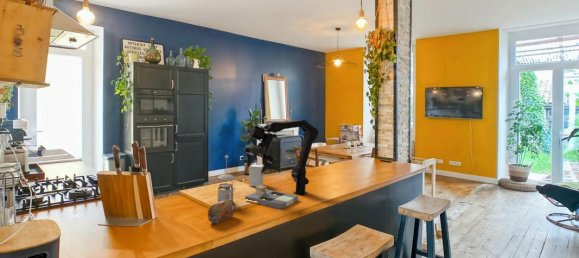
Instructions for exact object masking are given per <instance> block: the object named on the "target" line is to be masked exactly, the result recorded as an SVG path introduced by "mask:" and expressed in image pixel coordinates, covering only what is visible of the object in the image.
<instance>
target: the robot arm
mask: <svg viewBox="0 0 579 258" xmlns="http://www.w3.org/2000/svg"><path fill="white" fill-rule="evenodd" d="M296 128H300V129H301V131H303V138H304V141H303V146H302V148H301V151H300V155H299V157H298V161H297V164H296V166H292V168H291V169H292V170H291V172H290V173H291V174H290V177H291V178H292V179H293V182H295V191H293V194H294V195H300V196H304V195H306V194H308V193H309V192H308V191H306V187H307V185H309V183H310V180H309V179H308V178H307V177H306V175H307V169H306V166H307V163H308V159H309V156H310V153H311V149H312V145H313V144H314V142H315V141H316V140H317V139H318V136H319V134H320V133H319V130H318V128H316V127H314V126H313V125H312V124H310V123H309V122H307V120H305V119H301V118H300V119H296V120H289V121H281V122H280V121H271V120H270V121H268V122H267V123H266V125H263V127H260V126H258V125H257V124H254V125H253V127H252V128H251V129H250V130H249V133H248V136H249V137H250V138H252V139H255V140H257V141H260V142H258V143H257V145H252V146H251V147H248V146H247V147H245V148H244V150H243V151H244V152H245V154H246V155H247V166H246V167H247V168H250V166H251V165H252V163H253V161H254V159H255V157H256V156H257V157H260V158H262V159H264V164H263V165H264V166H263V168H262V171H261V173H263V172H264V173H265V171H267V169H269V167H271V166H272V165H273V166H274V165H277V163H278V159H277V158H276V157H272V156H271V155H269V154H268V153H269V150H271V148H272V147H271V146H272V143H273V140H274V139H277V140H278V136H277V133H280V132H282V131H283V130H288V129H296Z"/></svg>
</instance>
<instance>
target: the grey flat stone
mask: <svg viewBox="0 0 579 258" xmlns="http://www.w3.org/2000/svg"><path fill="white" fill-rule="evenodd" d="M217 202H218V201H217ZM217 202H215V203H213V204H212V205H210V206H209V208H208V211H207V219H208V221H209V222H210V223H212V224H216V225H218V224H220V223H223V222H225V221H228V220H230V219H232V218H233V216H234V215H235V212H236V203H235V202H234V200H233V201H232V200H224V201H221V202H218V203H217Z"/></svg>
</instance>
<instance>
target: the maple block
mask: <svg viewBox="0 0 579 258" xmlns="http://www.w3.org/2000/svg"><path fill="white" fill-rule="evenodd" d="M266 189H267V186H266V185H259V186H257V187H255V192H256V194H259V195H264V194H266Z"/></svg>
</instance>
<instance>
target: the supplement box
mask: <svg viewBox="0 0 579 258" xmlns="http://www.w3.org/2000/svg"><path fill="white" fill-rule="evenodd" d="M263 166H264V164H251V165H250V166H249V173H248V174H249V177H248V187H252V186H255V187H254V188H256V187H257V186H259V185H262V186H264V173H265V171H264V172H263V173H261V171H262V168H263Z"/></svg>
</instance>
